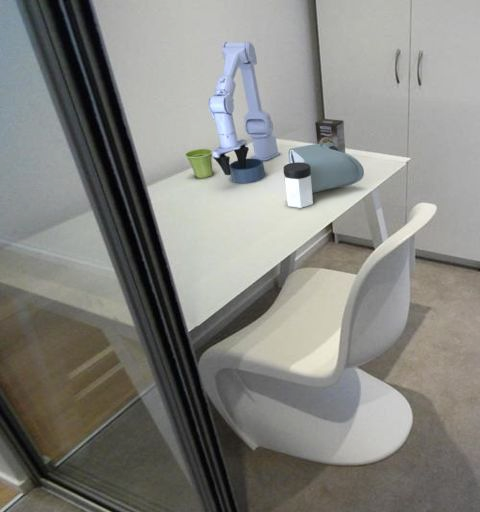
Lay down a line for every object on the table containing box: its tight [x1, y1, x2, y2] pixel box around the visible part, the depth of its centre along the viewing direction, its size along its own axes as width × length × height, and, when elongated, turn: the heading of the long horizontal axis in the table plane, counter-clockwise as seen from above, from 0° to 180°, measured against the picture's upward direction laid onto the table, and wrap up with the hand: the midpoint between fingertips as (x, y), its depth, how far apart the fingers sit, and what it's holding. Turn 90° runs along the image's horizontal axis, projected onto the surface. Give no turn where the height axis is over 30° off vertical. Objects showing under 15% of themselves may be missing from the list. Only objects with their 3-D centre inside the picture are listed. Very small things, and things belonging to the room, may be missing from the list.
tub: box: [229, 157, 266, 184], centre depth 159 cm, size 12×12×5 cm
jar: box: [283, 162, 314, 209], centre depth 136 cm, size 9×8×12 cm
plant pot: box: [184, 148, 214, 179], centre depth 160 cm, size 9×9×9 cm
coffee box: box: [314, 118, 346, 153], centre depth 167 cm, size 9×6×16 cm
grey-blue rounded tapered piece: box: [288, 142, 365, 194], centre depth 149 cm, size 22×19×13 cm
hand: (235, 171), depth 153 cm, fingers open, 7 cm apart
